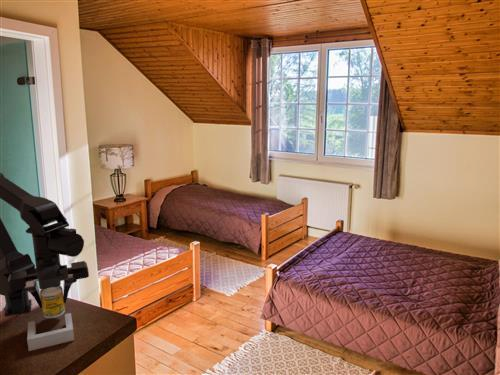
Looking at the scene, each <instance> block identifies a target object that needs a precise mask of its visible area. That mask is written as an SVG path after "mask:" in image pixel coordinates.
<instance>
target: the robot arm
mask: <svg viewBox="0 0 500 375" xmlns="http://www.w3.org/2000/svg"><path fill="white" fill-rule="evenodd" d="M0 200H2V201H4V202H5V203H6V204H8V205H10V207H12V208H14V209H15V210H17V211H18V212H19V215H20V219H21V220H22V221H24V223H25V224H26V225H27V226H28V228H27V229H26V230H25V233H26V234H31V236H32V237H31V238H32V245H33V252H34V253H33V254H34V260H35V263H34V262H33V260H32V257H31V255H30V254H29V253H26V254H23V253H21V252H20V251H18V248H17V247H16V245H15V243H14V241H13V239H12V237H11V235H10V234H9V232H8V230H7V228H6V225H5V224H4V222H3V220H2V218H1V217H0V296H4V302H5V307H4V315H3V316H5V317H7V316H12V315H17V314H22V313H26V312H27V313H28V312H31V311H32V299H29V298H30V297H29V293H30V294H31V295H32V297H33V298H34V300H35V301H36V303H37V305H38V306H39V308H40V309H42V302H41V296H40V290H41V289H42V290H43V289H47V288H51V287H58V286H61V285H62V284H61V282H62V281H63V288H62V290H63V298H64V304H66V303H67V300H68V296H69V292H70V289H71V286H72V285H73V284H74V283H76V282H77V280H81V279H87V278H89V277H90V275H89V274H90V272H89V267H88V264H87V261H85V260H81V261H77V262H75V261H74V262H71V263H70V267H68V264H61V258H60V256H61V255H62V256H65V257H66V256H67V257H71V258H75V257H77V256H79V255H80V254H81V253H82V251H83V249H84V246H85V240H84V238H83V236H82V235H81V234H79V233H77V229H75V228H68V227H69V226H70V224H69V222H68V221H67V218H66V217H65V216H64V214H63V213H62V211H61V210H60V208H59V207H58V204H57V203H55V202H54V201H53V200H50V199H48V198H46V197H44V196H43V197H41V196H35V195H32V194H31V193H29V192H28V191H26V190H25V189H23V188H21V187H20V186H18V185H17V184H16V183H14V182H12V180H10V179H8V178H7V177H5V175H4V174H3V173H2V172H0ZM54 222H55V223H54ZM39 289H40V290H39Z"/></svg>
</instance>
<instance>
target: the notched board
mask: <svg viewBox="0 0 500 375" xmlns="http://www.w3.org/2000/svg"><path fill="white" fill-rule="evenodd" d="M72 319H73V318H72V313H71V312H69V313H68V312H67V313H65V314H64V321H65V327H63V328H59V329H54V330H50V331H46V332H42V333H37V330H36V329H37V328H36V322H35V320H32V321H28V322H27V335H26V336H27V338H26V341H27V342H26V343H27V346H28V347H27V348H28V352H31V351H35V350H40V349H43V348H48V347H52V346H56V345H59V344H64V343H69V342H72V341H75V334H74V327H73V326H74V325H73V320H72Z"/></svg>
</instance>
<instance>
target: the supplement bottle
mask: <svg viewBox="0 0 500 375" xmlns="http://www.w3.org/2000/svg"><path fill="white" fill-rule="evenodd" d="M39 293H40V297H41V302H42V308H41V309H42V314H43V317H44V318H46V319H55V318H58V317H60V316H62V315H63V314H64V313H65V311H66V308H65V303H64V298H63V287H62V286H61V285H60V286H58V287H51V288H47V289H43V290H42V289H40V290H39Z"/></svg>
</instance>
